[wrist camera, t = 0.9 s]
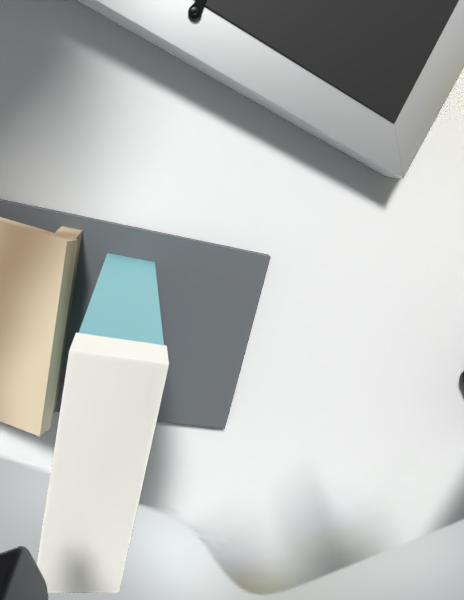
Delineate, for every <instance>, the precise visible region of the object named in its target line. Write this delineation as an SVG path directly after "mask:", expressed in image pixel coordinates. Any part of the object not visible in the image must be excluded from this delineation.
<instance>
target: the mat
mask: <svg viewBox="0 0 464 600" xmlns="http://www.w3.org/2000/svg"><path fill="white" fill-rule="evenodd" d="M0 217H2V218H6V219H9V220H12V221H16V222H19V223H23V224H26V225H29V226H33V227H36V228H40V229H43V230H46V231H50V232H53V233H55V232H56V231H57V230H58V229H59V228H60V227H62V226H64V227H69V228H74V229H79V230H83V231H82V237H81V244H80V251H79V258H78V264H77V271H76V278H75V284H74V291H73V298H72V305H71V311H70V318H69V325H68V332H67V338H66V345H65V352H64V359H63V365H62V372H61V379H60V386H59V392H58V399H57V403H56V406H55V409H54V411H58V412H60V408H61V402H62V395H63V388H64V382H65V375H66V369H67V362H68V355H69V350H70V347H71V345H72V342H73V339H74V336H75V334H76V333H79V331H80V328H81V325H82V322H83V319H84V317H85V314H86V311H87V308H88V305H89V303H90V300H91V297H92V294H93V292H94V289H95V286H96V283H97V280H98V278H99V275H100V272H101V269H102V266H103V264H104V261H105V258H106V255H107V253H109V254H115V255H120V256H125V257H130V258H136V259H141V260H146V261H151V262H155V268H156V277H157V286H158V295H159V304H160V313H161V322H162V331H163V340H164V345H166V346H167V352H168V360H169V366H168V371H167V376H166V380H165V385H164V389H163V394H162V398H161V403H160V408H159V412H158V417H157V422H167V423H177V424H187V425H197V426H207V427H217V428H225V426H226V422H227V418H228V414H229V411H230V407H231V403H232V399H233V395H234V392H235V388H236V384H237V380H238V377H239V373H240V369H241V365H242V362H243V358H244V354H245V350H246V347H247V343H248V339H249V335H250V332H251V328H252V324H253V320H254V317H255V313H256V309H257V305H258V302H259V298H260V294H261V290H262V287H263V283H264V279H265V275H266V272H267V268H268V264H269V260H270V256H269V255H267V254H262V253H257V252H252V251H248V250H243V249H238V248H233V247H228V246H224V245H219V244H214V243H209V242H204V241H199V240H195V239H190V238H185V237H180V236H175V235H171V234H166V233H161V232H156V231H151V230H146V229H142V228H137V227H132V226H127V225H122V224H118V223H113V222H108V221H103V220H98V219H94V218H89V217H84V216H79V215H74V214H69V213H65V212H60V211H55V210H50V209H45V208H41V207H36V206H31V205H26V204H21V203H16V202H12V201H7V200H2V199H0Z"/></svg>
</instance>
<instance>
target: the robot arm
mask: <svg viewBox="0 0 464 600" xmlns="http://www.w3.org/2000/svg"><path fill="white" fill-rule="evenodd" d="M463 381H464V374H463ZM0 600H48V590H47V585H46V582H45V579H44V577H43V576H42V574H41V572H40V570H39V568H38V566H37V565H36V563H35V561H34V559H33V557H32V555H31V554H30V552H29V550H28V549H27V548H25V547H23V546H20V547H17V548H14V549H11V550H8V551H5V552H3V553H0Z"/></svg>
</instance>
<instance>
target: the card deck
mask: <svg viewBox="0 0 464 600" xmlns="http://www.w3.org/2000/svg"><path fill="white" fill-rule="evenodd" d="M168 366H169V360H168V352H167V346H166V345H164V340H163V331H162V322H161V313H160V304H159V295H158V286H157V277H156V268H155V262H151V261H146V260H141V259H136V258H130V257H125V256H120V255H115V254H109V253H107V255H106V258H105V261H104V264H103V266H102V269H101V272H100V275H99V278H98V280H97V283H96V286H95V289H94V292H93V294H92V297H91V300H90V303H89V305H88V308H87V311H86V314H85V317H84V319H83V322H82V325H81V328H80V331H79V333H76V334H75V336H74V339H73V342H72V345H71V347H70V350H69V355H68V362H67V369H66V375H65V382H64V388H63V395H62V402H61V408H60V415H59V421H58V428H57V435H56V441H55V448H54V454H53V461H52V468H51V474H50V481H49V487H48V494H47V501H46V508H45V514H44V521H43V528H42V534H41V541H40V547H39V553H38V560H37V566H38V568H39V570H40V572H41V574H42V576H43V577H44V579H45V582H46V585H47V590H48V593H119V591H120V586H121V582H122V577H123V572H124V568H125V563H126V559H127V553H128V550H129V545H130V540H131V536H132V531H133V527H134V522H135V517H136V513H137V508H138V504H139V499H140V495H141V490H142V485H143V481H144V476H145V472H146V467H147V463H148V458H149V453H150V449H151V444H152V440H153V435H154V430H155V426H156V421H157V417H158V412H159V408H160V403H161V398H162V394H163V389H164V385H165V380H166V376H167V371H168Z"/></svg>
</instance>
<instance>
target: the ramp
mask: <svg viewBox="0 0 464 600" xmlns="http://www.w3.org/2000/svg"><path fill="white" fill-rule="evenodd" d="M82 231H83V230H79V229H74V228H69V227H64V226H62V227H60V228H59V229H58V230H57V231H56V232H55V233H53V232H50V231H46V230H43V229H40V228H36V227H33V226H29V225H26V224H23V223H19V222H16V221H12V220H9V219H6V218H2V217H0V422H3V423H5V424H8V425H11V426H13V427H16V428H18V429H21V430H24V431H26V432H29V433H31V434H34V435H37V436H39V437H40V436H41V435H43V434H44V433H45V432H46V431H48V430H49V429H50V428H51V422H52V416H53V412H54V409H55V406H56V403H57V399H58V392H59V386H60V379H61V372H62V365H63V359H64V352H65V345H66V338H67V332H68V325H69V318H70V311H71V305H72V298H73V291H74V284H75V278H76V271H77V264H78V258H79V251H80V244H81V237H82Z"/></svg>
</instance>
